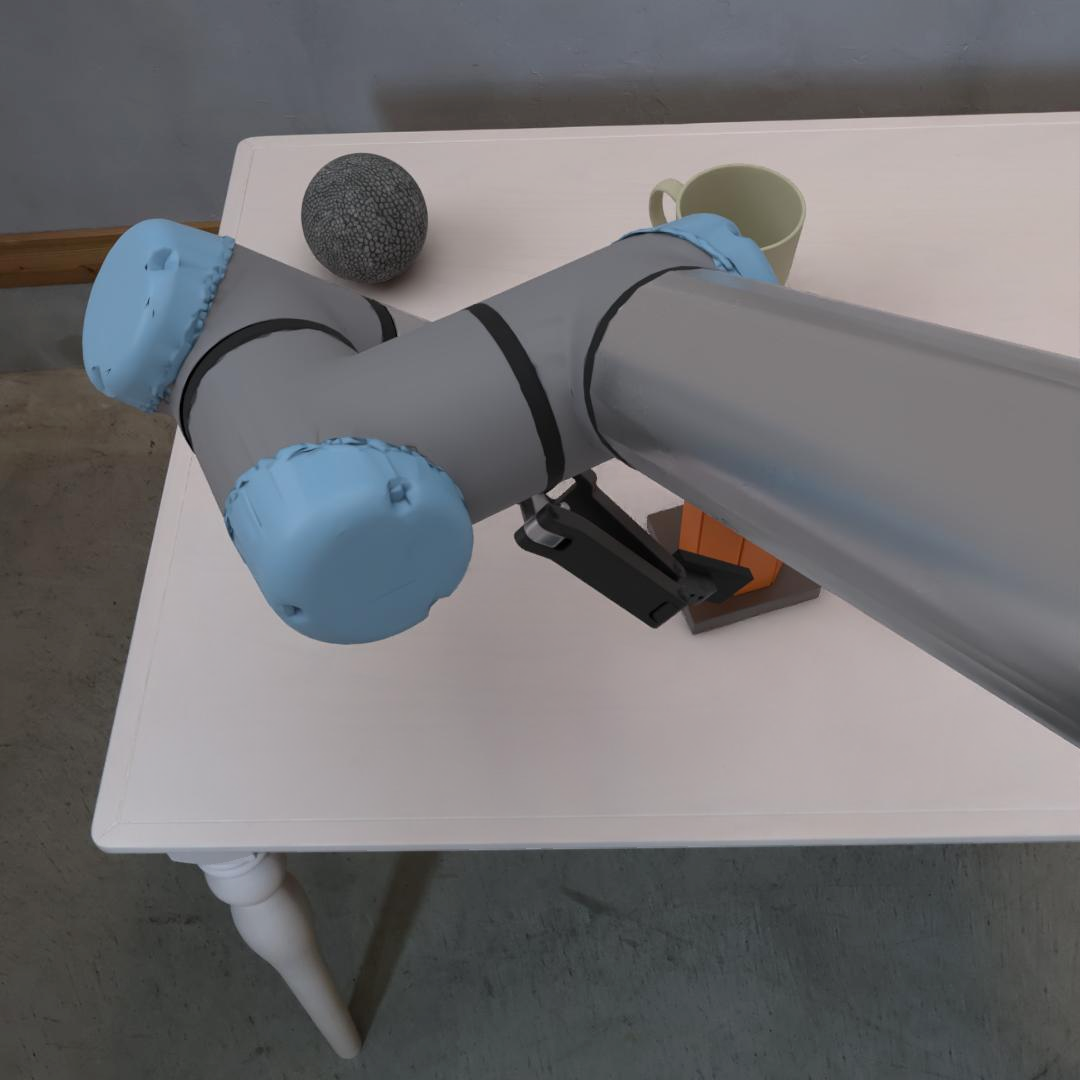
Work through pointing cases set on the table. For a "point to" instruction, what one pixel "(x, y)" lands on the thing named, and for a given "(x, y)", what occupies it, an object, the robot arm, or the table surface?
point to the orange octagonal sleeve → (726, 547)
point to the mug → (742, 207)
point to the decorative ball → (364, 218)
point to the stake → (710, 615)
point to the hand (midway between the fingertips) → (692, 494)
